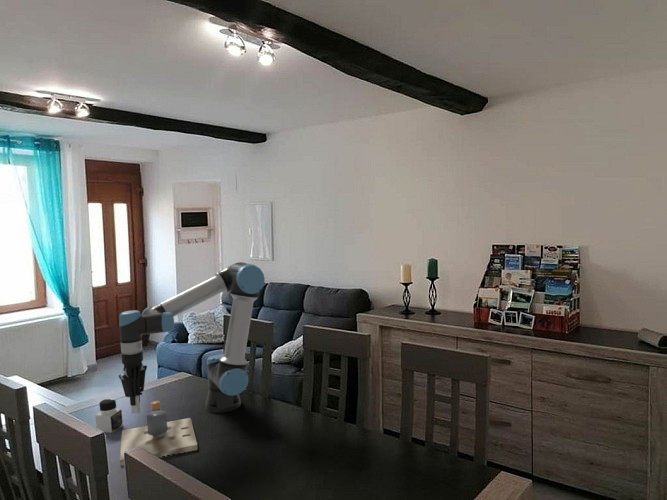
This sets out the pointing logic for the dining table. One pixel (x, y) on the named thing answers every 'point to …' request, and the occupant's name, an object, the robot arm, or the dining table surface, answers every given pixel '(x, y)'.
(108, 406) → the medicine bottle
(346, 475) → the dining table surface
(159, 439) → the base board
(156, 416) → the uneven dumbbell rattle
